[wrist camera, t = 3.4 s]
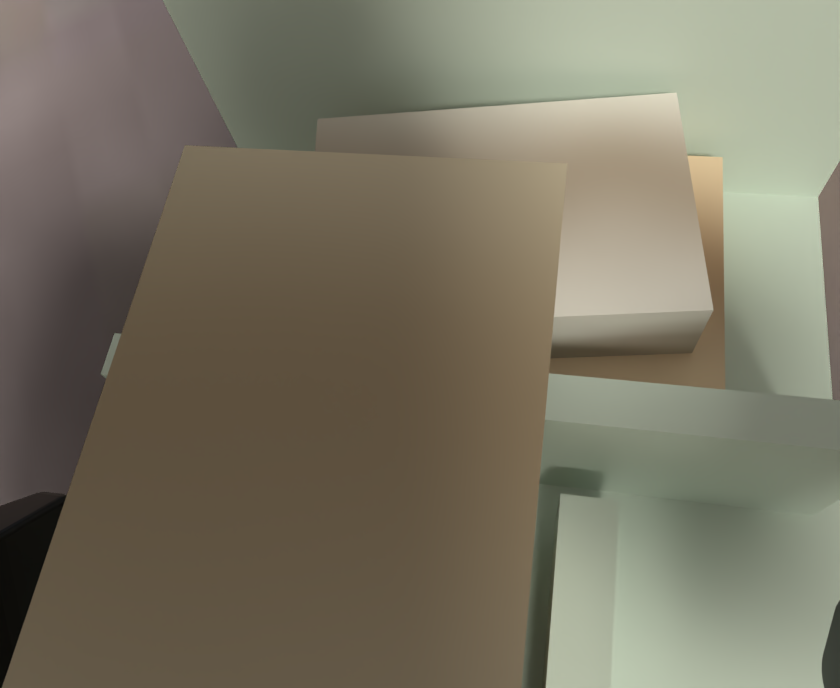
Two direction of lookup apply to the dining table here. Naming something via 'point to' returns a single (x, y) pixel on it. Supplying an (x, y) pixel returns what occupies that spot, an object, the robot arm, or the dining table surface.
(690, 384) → the pine offcut
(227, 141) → the dining table surface
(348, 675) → the birch board
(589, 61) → the offcut rack
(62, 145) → the dining table surface
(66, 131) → the dining table surface
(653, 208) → the white offcut
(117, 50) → the dining table surface
